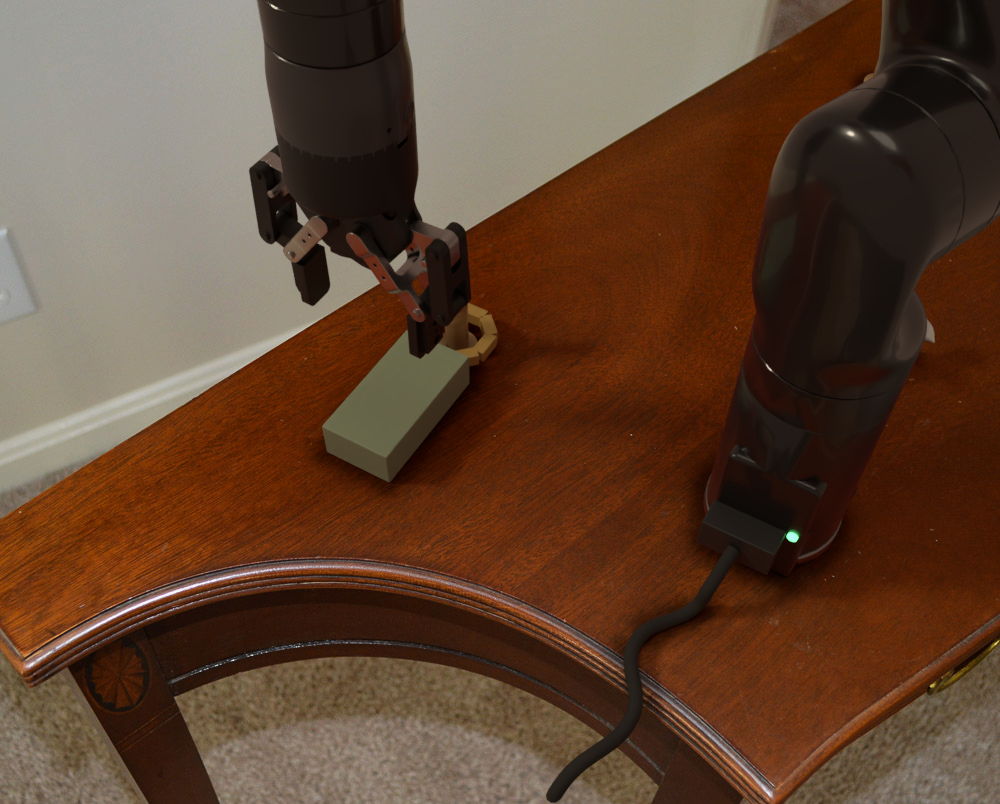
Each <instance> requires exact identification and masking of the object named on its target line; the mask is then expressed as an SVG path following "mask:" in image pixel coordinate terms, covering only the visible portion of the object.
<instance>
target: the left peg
mask: <svg viewBox="0 0 1000 804" xmlns="http://www.w3.org/2000/svg"><path fill="white" fill-rule="evenodd" d="M477 342H478V339H477V337H476V336H475V335H474V334H473V333H472V332H471V331H469V322H468V304H467V305H466V306H464V307H463V309H462V310H461V311H460V312H459V313H458V314H457V315H456V316H455V318H454V319H453V321H452V322H451V323H450V324H449V325H448V326H446V327H444V332H443V338H442V339H441V341H440V342H439V344H441V345H444V346H446V347H448V348H450V349H453V350H455V351H456V350H461V349H467V348H472V347H474V346H475V345H476V344H477Z"/></svg>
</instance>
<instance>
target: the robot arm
mask: <svg viewBox="0 0 1000 804" xmlns="http://www.w3.org/2000/svg"><path fill="white" fill-rule="evenodd" d="M256 5H257V10H258V11H257V12H258V16H259V21H260V28H261V32H262V33H261V34H262V38H263V39H262V40H263V49H264V50H263V51H264V53H263V54H264V74H265V75H264V76H265V81H266V88H267V89H266V90H267V93H268V99H269V104H270V110H271V114H272V120H273V126H274V132H275V139H276V142H277V144H276V145H275V146H274V147H273V148H271V149H269V151H268V152H267V153H266V154H265V155H263V156H262V157H261V158H259V160H258V161H256V162H255V163H254V164H253V165H252V166H250V167H249V169H248V174H249V180H250V186H251V193H252V199H253V204H254V210H255V216H256V223H257V229H258V234H259V236H260V238H261V239H262V240H263V242H265V243H266V244H268V245H274V244H275V243H277V244H278V245H280V246H281V247H282V248H283V249H282V253H283V255H284V256H285V258H286V259H287V260H288V261H289V262H290V264H291V269H292V273H293V279H294V283H295V287H296V290H297V291H298V292H299V293H300V298H301V302H303V303H305V304H306V305H309V306H311V307H314V306H316V305H317V304H318V303H319V301H321V300H322V299H323V298H324V297H325V296H326V295H327V294H328V292H329V291H330V288H331V281H330V280H331V279H330V273H329V267H328V259H327V253H326V248H325V246H324V245H322V244H320V243H319V242H321V241H323V243H324V244H325V245H326V246H328V247H329V250H330V253H332V254H335V255H337V256H339V257H341V258H342V257H343V258H347V259H351V260H352V261H354V262H355V263H356V264H358V265H359V266H361V267H363V268H365V269H367V270H370V271H371V273H372V274H373V275H374V277H375V278H376V280H377V281H378V283H379V284H380V285H381V287H382V289H383V290H384V292H386V293H387V294H395V295H396V297H397V298H398V300H399V301H400V303H401V304H402V306H403V308H404V309H405V310H406V312H407V313H408V314H407V315H406V328H407V329H406V330H408V341H409V353H410V354H411V355H413V356H415V357H417V358H419V359H421V358H422V357H423V356H424V355H425V354H429V353H430V352H431V351H432V350H433V349H434V348H435V347H436V345H437V344H438V343H439V342H440V341H441V339H442V338H443V333H444V328H445V327H446V326H448V325H449V324H450V323H451V322H452V321H453V319H454V318H455V316H456V315H457V314H458V313H459V312H460V311H461V310H462V309H463V307H464V306H466V305H467V304H468V303H470V302H471V301H472V286H471V274H470V263H469V262H470V261H469V251H468V236H467V231H466V229H465V227H464V226H463V225H462V224H460V223H459V222H456V221H451V222H450V223H448V225H446V227H444V229H443V228H440V227H439V226H438V227H437V226H436V225H432V224H430V223H427V222H426V221H424V220H423V217H422V214H421V213H420V210H419V209H418V207H417V205H416V200H415V195H416V190H417V185H418V181H419V172H420V171H419V170H420V165H419V153H418V152H419V150H418V134H417V118H416V101H415V86H414V85H415V83H414V81H415V80H414V69H413V61H412V55H411V51H410V46H409V42H408V36H407V29H406V23H405V22H406V20H405V6H404V0H256ZM880 28H881V30H880V42H879V54H878V59H879V60H878V59H877V62H878V65H877V64H876V65H877V70H876V74H875V76H874V77H873V78H871V79H869V80H867V81H866V82H864V83H863V82H862V83H860V84H858V85H856V86H855V87H853V88H851V89H849V90H847V91H846V92H844V93H842V94H841V95H838V96H836V97H835V98H832V99H831V100H829V101H828V102H826V103H823V105H821V106H819V107H817V108H816V109H814V110H812V111H810V112H809V113H808V114H806V115H805V116H803V117H802V118H801V119H800V120H799V121H798V122H797V123H796V124H795V125H793V128H792V129H791V130H790V132H789V133H788V134H787V137H786V138H785V140H784V142H783V143H782V144H781V145H782V146H781V147H780V149H779V152H778V154H777V157H776V159H775V162H774V165H773V168H772V171H771V175H770V179H769V182H768V187H767V191H766V196H765V200H764V206H763V211H762V216H761V220H760V221H761V222H760V226H759V232H758V237H757V242H756V247H755V253H754V258H753V264H752V268H751V291H752V298H753V299H752V300H753V304H754V308H755V314H754V319H753V322H752V326H751V329H750V332H749V336H748V340H747V344H746V347H745V350H744V353H743V357H742V359H741V360H742V361H741V363H740V367H739V371H738V376H737V378H736V381H735V385H734V390H733V393H732V397H731V401H730V404H729V407H728V411H727V416H726V419H725V422H724V425H723V430H722V432H721V436H720V440H719V444H718V448H717V451H716V455H715V459H714V464H713V467H712V471H711V473H710V475H709V478H708V480H707V482H706V486H705V490H704V495H703V502H702V503H703V504H702V505H703V512H704V517H703V519H702V521H701V523H700V527H699V531H698V534H697V538H696V543H697V544H699V545H701V546H703V547H705V548H707V549H710V550H712V551H714V552H716V553H718V554H720V555H721V556H720V557H719V559H718V560H717V562H716V564H715V565H714V566H713V568H712V570H711V571H710V573H709V574H708V576H707V577H706V579H705V580H704V582H703V583H702V585H701V587H700V589H699V590H698V592H697V593H696V595H695V597H694V598H693V599H692V600H690V602H688V603H687V604H686V605H684V606H683V607H681V608H679V609H677V610H674V611H671V612H669V613H666V614H662V615H659V616H657V617H654V618H652V619H649V620H647V621H645V622H643V623H642V624H641V625H639V626H638V627H637V628H636V629H634V631H633V632H632V634H630V636H629V638H628V640H627V641H626V644H625V647H624V650H623V652H624V653H623V670H624V676H625V677H624V678H625V683H626V688H627V696H628V697H627V700H628V701H627V706H626V710H625V713H624V714H623V716H622V718H621V720H620V721H619V723H618V724H617V725H616V726H615V727H614V728H613V730H611V732H609V733H608V734H607V735H605V736H604V737H603V738H602V739H599V741H597V742H595V743H594V744H592V745H591V746H589V747H588V748H587V749H585V750H583V751H582V752H581V753H580V754H578V755H577V756H575V757H574V758H573V759H572V760H571V761H570V762H569V763H568V764H566V765H565V767H564V768H563V769H562V770H561V771H560V772H559V774H558V775H557V776H556V777H555V779H554V780H553V781H552V783H551V785H550V786H549V788H548V789H547V792H546V794H545V797H546V798H545V799H546V801H548V802H549V803H550V804H553V803H554V804H557V803H558V802H559V801H561V800H562V798H563V797H564V795H565V794H566V792H567V791H568V789H569V788H570V787H571V785H572V784H573V783H574V782H575V781H576V780H577V779H578V778H579V777H580V776H581V775H582V774H583V773H584V772H586V770H588V769H589V768H590V767H592V766H593V765H594V764H596V763H598V762H599V761H601V760H602V759H603V758H604V757H606V756H608V755H610V754H611V753H612V752H614V751H615V750H616V749H618V748H619V747H620V746H621V745H622V744H623V743H625V741H626V740H627V739H628V738H629V737H630V736H631V734H632V733H633V732H634V731H635V728H636V726H637V725H638V723H639V721H640V719H641V715H642V713H643V712H642V711H643V706H644V692H643V691H644V690H643V684H642V678H641V674H640V669H639V654H640V651H641V649H642V646H644V643H645V642H646V641H648V639H649V638H650V637H652V636H653V635H656V634H657V633H659V632H662V631H665V630H667V629H670V628H673V627H676V626H678V625H681V624H683V623H686V622H688V621H689V620H691V619H692V618H694V617H695V616H697V615H698V614H699V613H701V612H702V611H703V610H704V609H705V608H706V607H707V606H708V604H709V603H710V601H711V600H712V599H713V597H714V595H715V593H716V592H717V590H718V589H719V588H720V586H721V585H722V583H723V581H724V579H726V577H727V575H728V573H729V572H730V570H731V568H732V567H733V565H734V564H735V563H736V562H737V563H740V564H741V565H744V566H746V567H748V568H750V569H752V570H755V571H757V572H759V573H761V574H763V575H765V576H767V575H768V574H769V572H770V571H772V572H774V573H777V574H779V575H781V576H783V577H788V576H790V574H791V572H792V570H793V569H794V567H795V566H798V565H802V564H806V563H808V562H811V561H812V560H814V559H817V558H818V557H820V556H821V555H822V554H824V553H825V552H826V551H827V550H828V549H829V548H830V546H831V545H832V544H833V542H834V540H835V538H836V537H837V535H838V532H839V530H840V528H841V526H842V522H843V518H844V515H845V513H846V512H847V509H848V507H849V505H850V502H851V500H853V499H854V497H855V495H856V492H857V490H858V485H859V483H860V481H861V478H862V476H863V474H864V472H865V470H866V468H867V466H868V463H869V462H870V461H871V457H872V456H873V453H874V452H875V449H876V447H877V445H878V442H879V440H880V438H881V436H882V434H883V432H884V430H885V428H886V426H887V423H888V421H889V420H890V416H891V414H892V412H893V410H894V408H895V406H896V404H897V402H898V400H899V398H900V397H901V394H902V391H903V389H904V387H905V385H906V384H907V381H908V379H909V376H910V374H911V373H912V371H913V368H914V366H915V363H916V362H917V360H918V357H919V355H920V353H921V351H922V348H923V346H924V343H925V342H926V341H925V337H926V332H927V319H928V317H927V311H926V309H925V306H924V304H923V301H922V299H921V297H920V296H919V294H918V292H917V291H916V287H917V284H918V283H919V281H920V279H921V278H922V275H923V274H924V272H925V270H926V269H927V268H928V267H930V266H931V265H932V264H934V263H935V262H937V261H938V260H940V259H941V258H943V257H945V256H947V254H949V253H950V252H952V251H953V250H955V249H957V248H958V247H960V246H961V245H962V244H964V243H965V242H967V241H969V240H970V239H972V238H973V237H974V236H976V235H978V234H980V233H981V232H982V231H984V230H985V229H986V228H988V227H989V226H990V225H991V224H992V223H994V222H995V221H996V220H997V219H998V218H999V217H1000V0H881V27H880ZM297 205H298V207H299V209H300V210H301V211H302V213H303V214H304V216H305V217H306V219H307V222H306V223H305V224H304V225H303V224H302V223H300V222H299V215H298V207H297ZM404 251H405V253H406V260H405V261H404V263H403V264H401V266H400V267H399V268H398V269H397V270H396V271H395V269H394V268H393V266H392V264H391V263H392V262H393V261H394V260H395V259H396V258H397V257H399V256H400V255H401V254H402V253H403V252H404ZM415 280H417V281H418V282H419V284H420V286H421V287H422V289H423V290H422V291H421V292H420V294H418V293H417V291H416V290H415V288H414V286H413V282H414V281H415Z"/></svg>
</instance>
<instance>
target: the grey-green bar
mask: <svg viewBox="0 0 1000 804" xmlns="http://www.w3.org/2000/svg"><path fill="white" fill-rule="evenodd" d="M468 323H470V324H472V325H474V326H477V327H479V329H480V332H481V335H482V336H481V338H479V340H477V344H476V345H475V346H474V347H472V348H467V349H461V350H456V351H455V350H453V349H450V348H448V347H446V346H444V345H441V344H439V343H438V344H437V345H436V347H435V348H434V349H433V350H432V351H431V352H430V353H429V354H425V355H424V356H423V357H422V358H421V359H419V358H417V357H415V356H413V355H411V354H410V353H409V341H408V329H406V330H405V331H404V332H403V334H402V335H401V336H400V337H399V338H398V339H397V341H396V342H394V344H393V345H392V346H391V347H390V348H389V349H388V350H387V352H386V353H385V354H384V355H383V356H382V357H381V358H380V360H378V362H377V363H376V364H374V365H375V366H373V368H372V369H371V370H370V371H369V372H368V373H367V375H365V376H364V378H363V379H362V380H361V381H360V382H359V384H358V385H357V386H356V387H355V388H354V389H353V390H352V391H351V393H350V394H349V395H348V396H347V397H346V398H345V399H344V401H343V402H342V403H341V404H340V405H339V406H338V408H336V410H335V411H334V412H333V413H332V414H331V416H329V418H328V419H327V420H325V422H324V423H323V424H322V426H321V429H322V434H323V438H324V439H323V440H324V445H325V448H326V449H325V450H326V452H327V453H328V454H330V455H333V456H334V457H336V458H339V459H341V460H342V461H345V462H347V463H348V464H351V465H352V466H355V467H357V468H359V469H361V470H362V471H364V472H367V473H369V474H371V475H373V476H375V477H377V478H379V479H380V480H382V481H385V482H387V483H388V484H389V483H391V482H392V481H393V480H394V478H395V477H396V475H397V474H398V473H399V472H400V471H401V469H402V468H403V467H404V466H405V464H406V463H407V462H408V461H409V459H410V458H411V457H412V455H414V454H415V452H416V450H417V449H418V448H419V447H420V446H421V444H423V442H424V441H425V439H426V438H427V437H428V436H429V434H430V433H431V432H432V431H433V430H434V428H435V427H436V426H437V424H438V423H439V422H440V421H441V420H442V418H443V417H444V416H445V415H446V413H447V412H448V411H449V409H450V408H451V407H452V406H453V405H454V404H455V402H456V401H457V400H458V398H459V397H460V396H461V395H462V394H463V392H464V391H465V389H467V387H468V386H469V384H470V367H473V366H478V365H480V362H483V363H484V362H485V361H486V359H487V358H488V357H489V355H490V354H491V353H492V352H493V351H494V350H495V348H496V347H497V346H498V341H499V339H498V338H499V333H498V328H497V327H496V323H495V320H494V318H493V315H492V314H491V313H490V314H489V311H488V310H487V309H484V308H481V307H480V306H478V305H475V304H473V303H470V302H469V303H468Z"/></svg>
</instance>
